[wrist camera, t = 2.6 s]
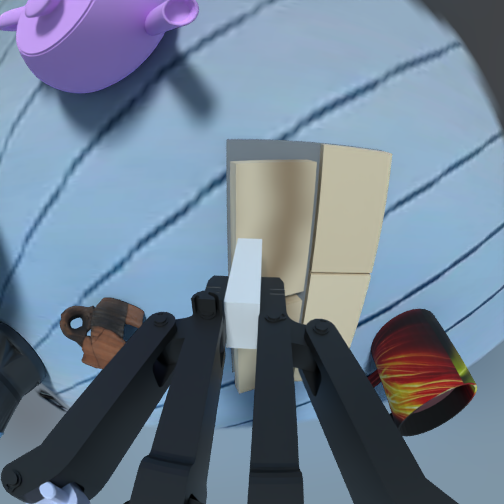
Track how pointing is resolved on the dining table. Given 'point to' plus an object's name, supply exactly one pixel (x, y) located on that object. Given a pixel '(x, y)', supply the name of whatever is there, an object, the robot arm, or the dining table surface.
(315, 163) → the plank near
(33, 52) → the teapot
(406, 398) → the mug
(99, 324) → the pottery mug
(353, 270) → the floor panel
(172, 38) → the dining table surface
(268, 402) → the robot arm
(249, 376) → the plank far
